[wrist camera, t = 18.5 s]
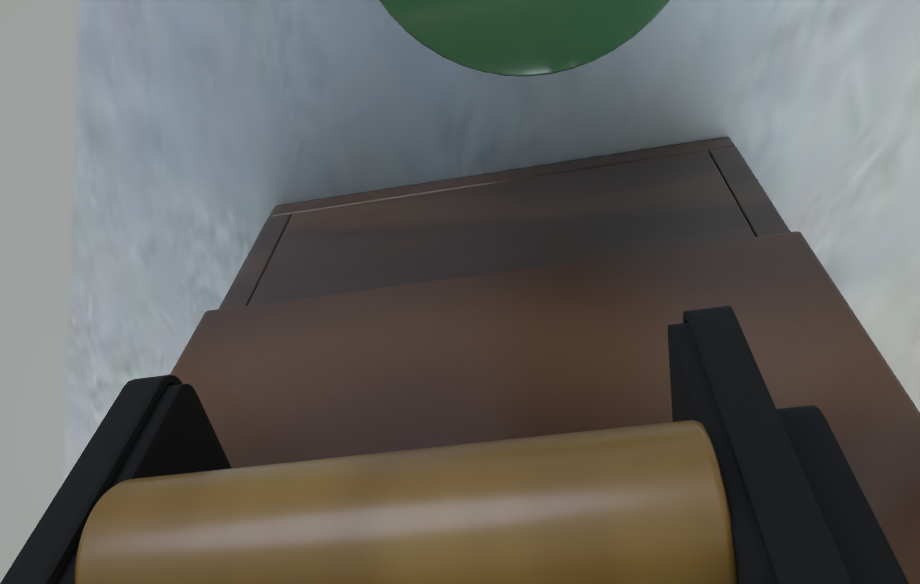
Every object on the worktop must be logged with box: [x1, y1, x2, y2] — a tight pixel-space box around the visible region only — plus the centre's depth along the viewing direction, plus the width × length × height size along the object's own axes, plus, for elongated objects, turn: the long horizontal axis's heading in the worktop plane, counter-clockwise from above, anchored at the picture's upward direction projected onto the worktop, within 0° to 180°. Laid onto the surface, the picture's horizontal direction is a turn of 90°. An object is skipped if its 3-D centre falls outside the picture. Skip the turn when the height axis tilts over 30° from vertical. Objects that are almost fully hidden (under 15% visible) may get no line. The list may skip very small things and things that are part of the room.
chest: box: [219, 137, 790, 309], centre depth 26 cm, size 13×15×6 cm
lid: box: [75, 231, 920, 584], centre depth 13 cm, size 13×15×5 cm
